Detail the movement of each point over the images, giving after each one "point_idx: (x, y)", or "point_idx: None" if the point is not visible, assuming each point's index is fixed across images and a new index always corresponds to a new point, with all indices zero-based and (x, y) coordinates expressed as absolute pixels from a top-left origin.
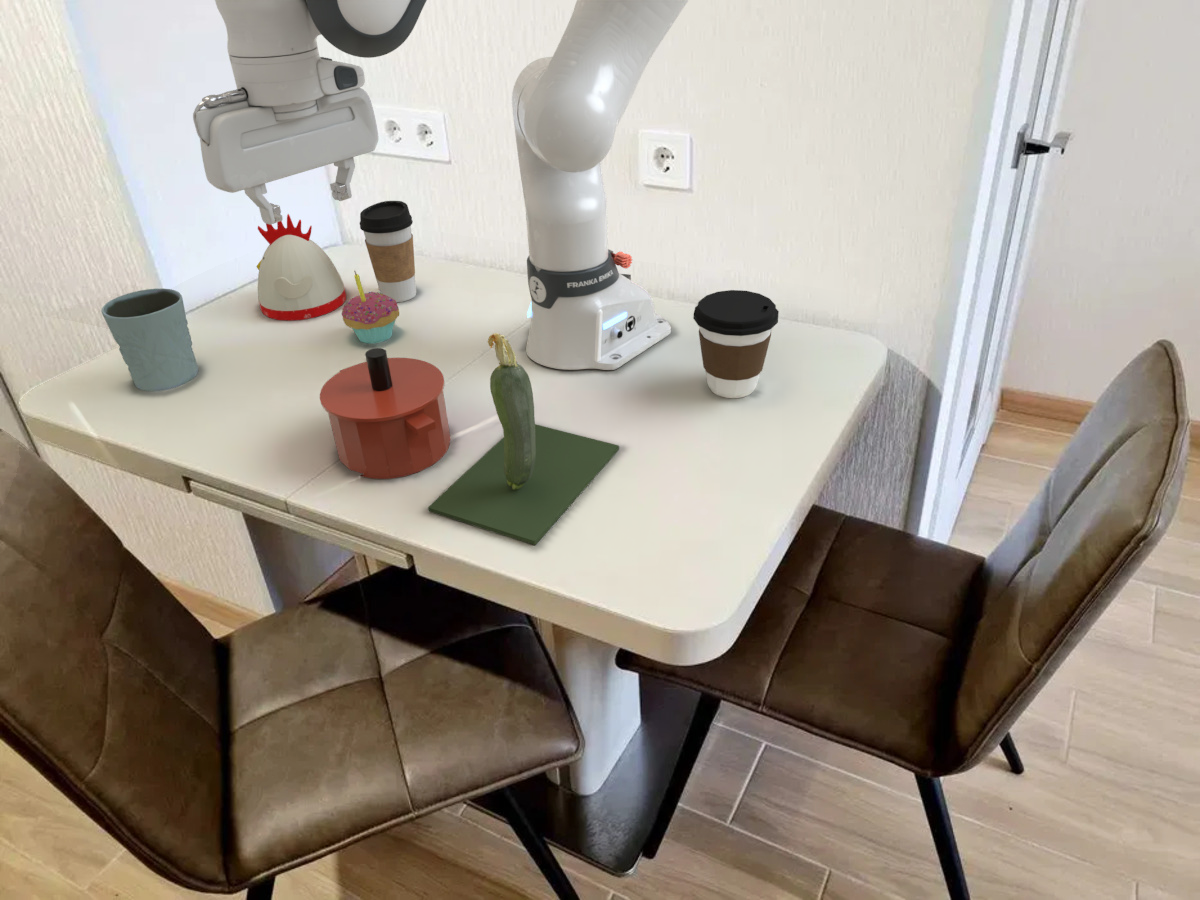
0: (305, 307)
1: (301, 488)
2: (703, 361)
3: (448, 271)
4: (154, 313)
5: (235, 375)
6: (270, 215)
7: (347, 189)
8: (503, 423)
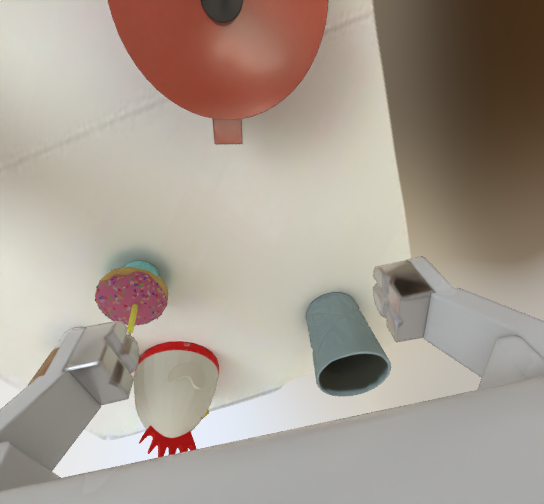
0: (186, 352)
1: (355, 17)
2: None
3: (10, 358)
4: (359, 352)
5: (286, 287)
6: (437, 271)
7: (70, 351)
8: None
